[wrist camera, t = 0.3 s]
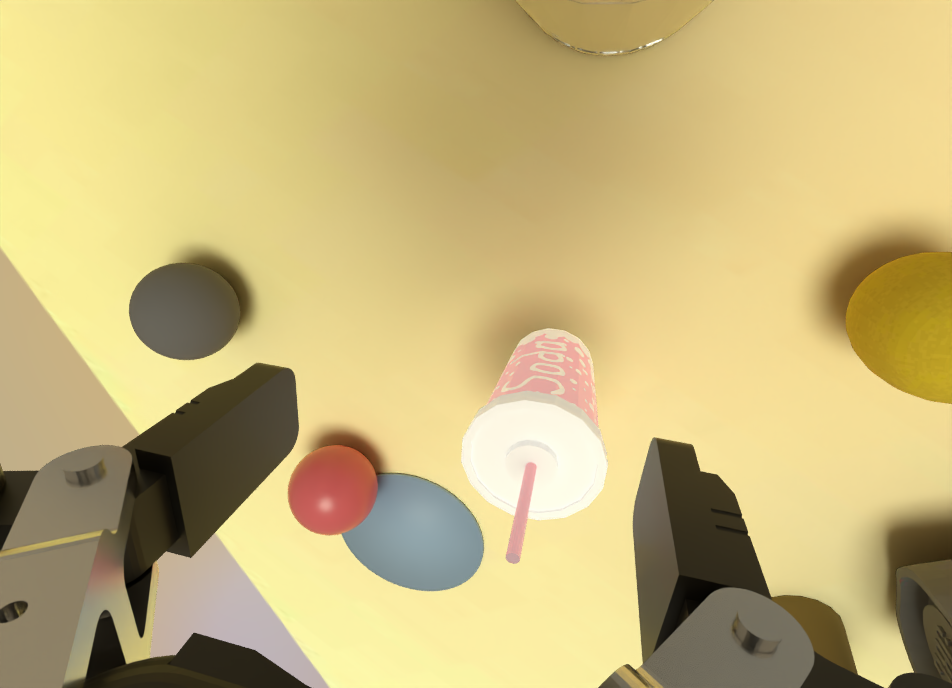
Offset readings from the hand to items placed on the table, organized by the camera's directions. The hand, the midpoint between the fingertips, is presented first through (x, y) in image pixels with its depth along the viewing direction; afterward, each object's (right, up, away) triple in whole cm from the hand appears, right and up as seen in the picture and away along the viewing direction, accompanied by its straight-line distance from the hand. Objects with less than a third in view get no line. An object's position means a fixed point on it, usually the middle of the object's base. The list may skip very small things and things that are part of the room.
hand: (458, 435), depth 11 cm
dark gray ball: (-16, +4, +19) cm, 25 cm away
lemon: (+19, +4, +13) cm, 24 cm away
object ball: (-9, -7, +22) cm, 25 cm away
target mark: (-4, -12, +26) cm, 29 cm away
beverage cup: (+5, +1, +18) cm, 19 cm away
